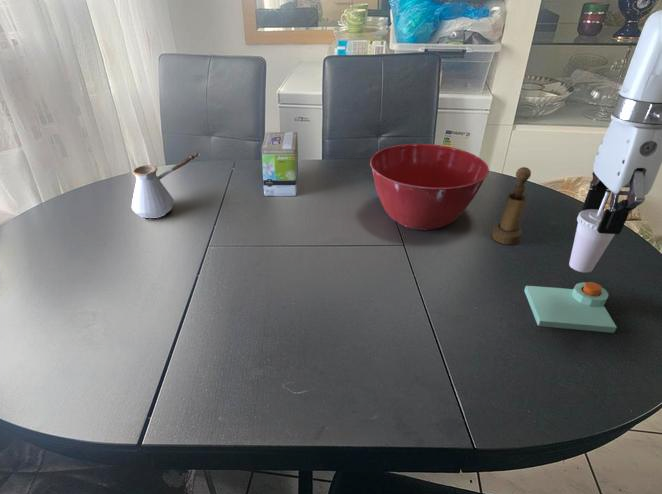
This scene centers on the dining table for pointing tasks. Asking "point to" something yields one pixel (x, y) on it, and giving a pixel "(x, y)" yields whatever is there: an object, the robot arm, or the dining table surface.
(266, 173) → the tea box
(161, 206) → the coffee pot
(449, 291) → the dining table surface
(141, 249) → the dining table surface
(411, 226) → the mixing bowl
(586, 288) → the button
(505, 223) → the mortar and pestle
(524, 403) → the dining table surface
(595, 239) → the smoothie
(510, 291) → the dining table surface
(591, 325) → the mint green button board
